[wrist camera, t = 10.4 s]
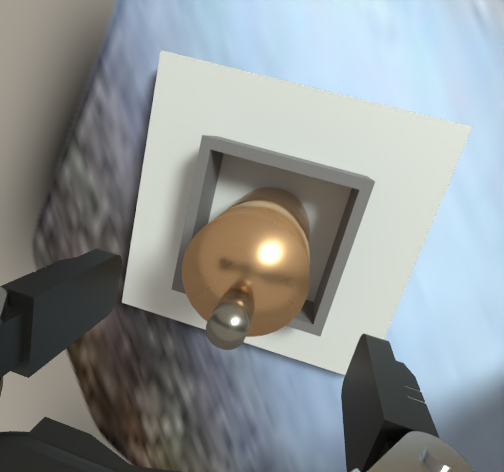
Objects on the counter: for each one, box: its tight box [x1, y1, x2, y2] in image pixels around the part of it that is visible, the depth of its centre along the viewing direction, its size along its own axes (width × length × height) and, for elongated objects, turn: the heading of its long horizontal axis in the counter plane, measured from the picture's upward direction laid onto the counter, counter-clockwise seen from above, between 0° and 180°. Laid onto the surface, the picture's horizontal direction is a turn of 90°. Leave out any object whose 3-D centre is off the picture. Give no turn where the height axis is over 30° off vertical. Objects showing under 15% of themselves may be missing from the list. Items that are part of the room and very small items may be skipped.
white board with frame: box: [122, 50, 472, 375], centre depth 22 cm, size 18×17×5 cm
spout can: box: [182, 187, 310, 350], centre depth 17 cm, size 5×5×11 cm
